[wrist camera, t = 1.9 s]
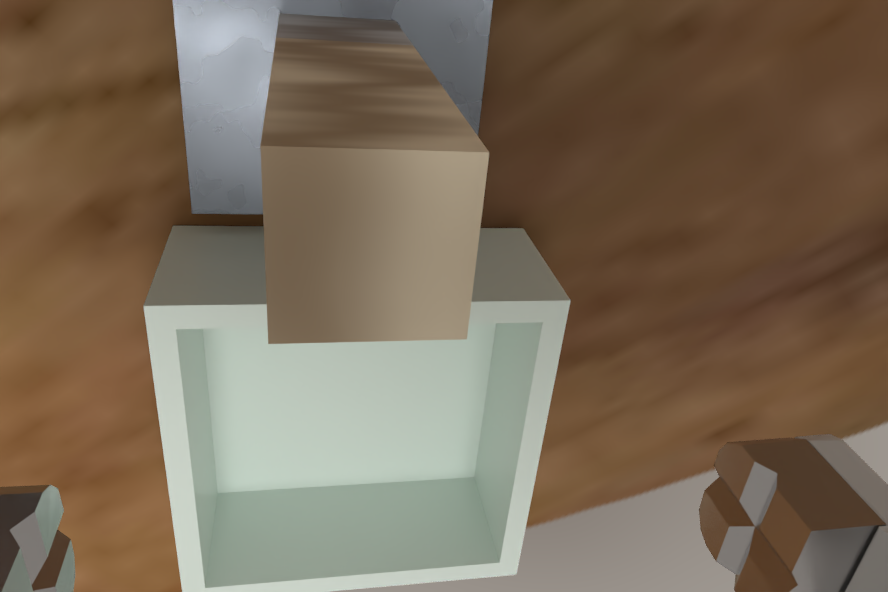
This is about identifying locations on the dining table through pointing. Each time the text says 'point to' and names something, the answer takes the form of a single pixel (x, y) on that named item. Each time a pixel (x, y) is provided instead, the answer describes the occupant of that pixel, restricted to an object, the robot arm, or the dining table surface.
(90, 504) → the dining table surface
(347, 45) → the strut
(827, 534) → the robot arm
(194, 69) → the stud plate
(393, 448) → the bin
